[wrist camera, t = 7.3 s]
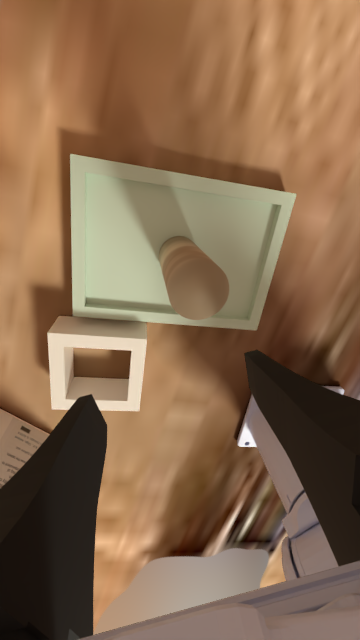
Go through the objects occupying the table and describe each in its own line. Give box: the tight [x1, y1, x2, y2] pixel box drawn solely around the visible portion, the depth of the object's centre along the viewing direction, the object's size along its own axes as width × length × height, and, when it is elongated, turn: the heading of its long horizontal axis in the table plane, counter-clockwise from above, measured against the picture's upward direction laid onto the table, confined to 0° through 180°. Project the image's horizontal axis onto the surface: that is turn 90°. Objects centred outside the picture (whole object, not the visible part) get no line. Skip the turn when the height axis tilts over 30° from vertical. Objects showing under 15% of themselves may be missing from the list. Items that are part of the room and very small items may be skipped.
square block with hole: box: [47, 316, 147, 411], centre depth 21 cm, size 7×7×3 cm
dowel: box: [159, 236, 229, 320], centre depth 16 cm, size 3×3×8 cm
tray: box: [70, 154, 296, 330], centre depth 19 cm, size 14×10×1 cm
